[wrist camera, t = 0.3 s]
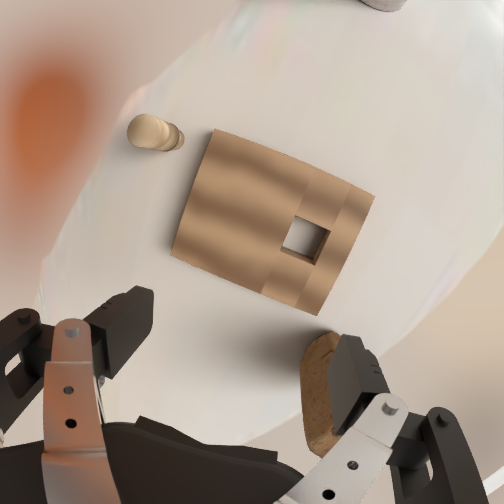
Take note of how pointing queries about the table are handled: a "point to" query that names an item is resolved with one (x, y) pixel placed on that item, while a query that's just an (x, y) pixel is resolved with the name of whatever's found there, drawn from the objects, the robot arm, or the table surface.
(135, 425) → the robot arm
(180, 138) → the peg
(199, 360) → the table surface
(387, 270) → the table surface
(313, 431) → the block
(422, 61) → the table surface
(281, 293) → the board
